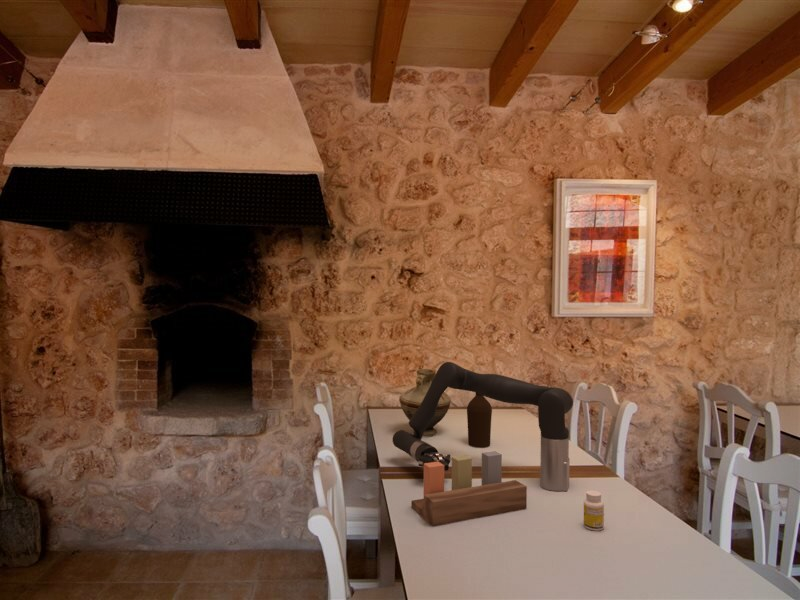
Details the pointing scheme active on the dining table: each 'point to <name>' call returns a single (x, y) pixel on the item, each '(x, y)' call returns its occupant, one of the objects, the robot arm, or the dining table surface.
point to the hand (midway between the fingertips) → (446, 467)
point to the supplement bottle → (593, 511)
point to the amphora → (415, 397)
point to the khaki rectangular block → (461, 472)
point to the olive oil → (479, 422)
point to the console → (471, 502)
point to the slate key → (491, 468)
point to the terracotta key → (433, 477)
